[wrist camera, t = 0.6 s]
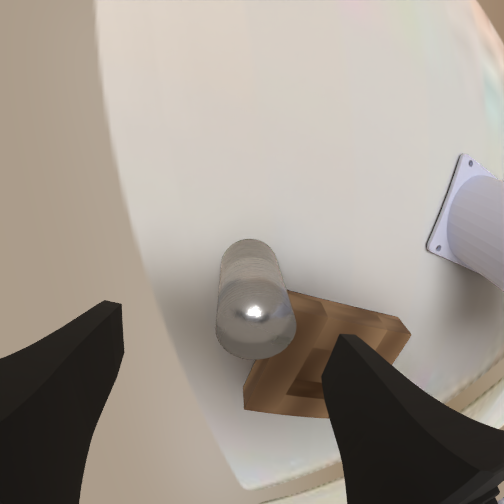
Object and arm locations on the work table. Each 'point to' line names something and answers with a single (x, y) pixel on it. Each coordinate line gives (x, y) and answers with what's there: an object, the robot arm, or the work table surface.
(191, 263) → the work table surface
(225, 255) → the pin
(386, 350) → the socket block
